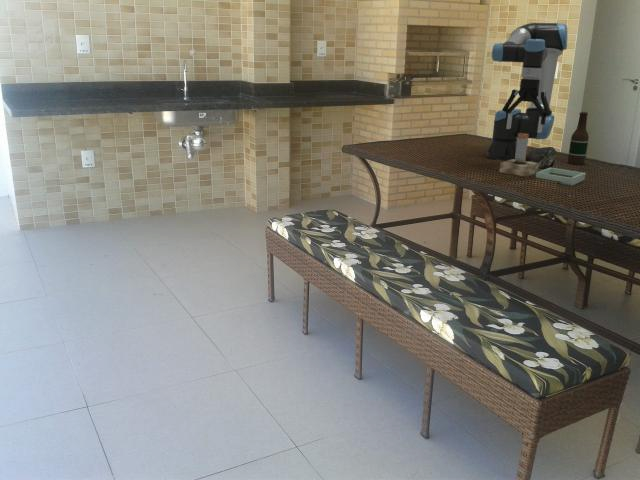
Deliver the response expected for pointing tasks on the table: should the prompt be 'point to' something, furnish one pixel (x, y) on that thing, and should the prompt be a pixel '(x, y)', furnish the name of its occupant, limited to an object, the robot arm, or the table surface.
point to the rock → (543, 157)
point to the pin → (521, 148)
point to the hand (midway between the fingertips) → (523, 130)
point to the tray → (562, 180)
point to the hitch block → (519, 168)
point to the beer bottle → (579, 142)
